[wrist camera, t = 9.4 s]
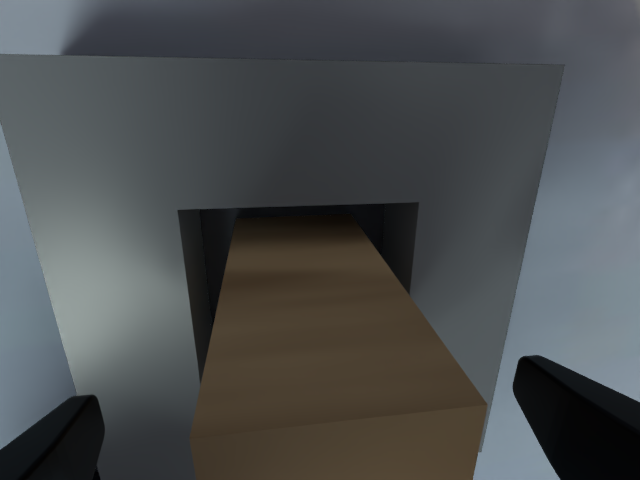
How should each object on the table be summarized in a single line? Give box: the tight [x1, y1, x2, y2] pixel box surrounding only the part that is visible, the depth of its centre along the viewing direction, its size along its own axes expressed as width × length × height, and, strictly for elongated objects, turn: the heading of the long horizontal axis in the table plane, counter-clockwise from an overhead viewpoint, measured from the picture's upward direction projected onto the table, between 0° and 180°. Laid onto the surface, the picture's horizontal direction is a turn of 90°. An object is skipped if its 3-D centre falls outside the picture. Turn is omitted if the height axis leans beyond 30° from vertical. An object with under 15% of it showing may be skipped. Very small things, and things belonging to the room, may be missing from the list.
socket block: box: [0, 54, 565, 480], centre depth 13 cm, size 13×13×3 cm
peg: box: [189, 214, 488, 480], centre depth 10 cm, size 4×4×9 cm
